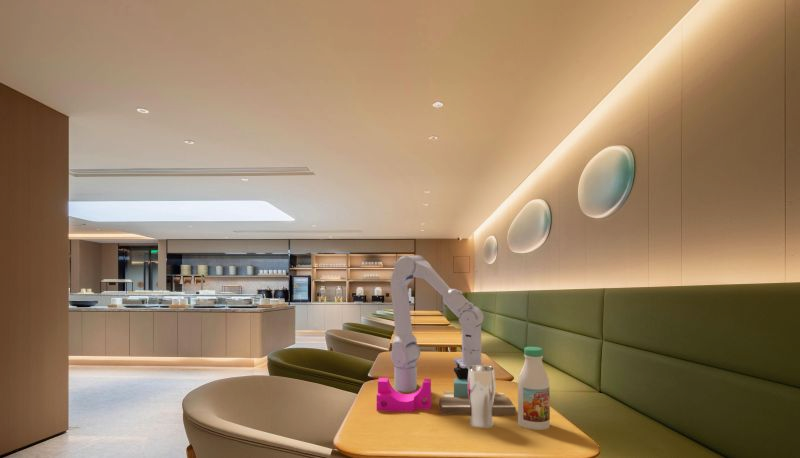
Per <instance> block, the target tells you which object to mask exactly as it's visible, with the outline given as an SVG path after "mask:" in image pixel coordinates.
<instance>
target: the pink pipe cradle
mask: <svg viewBox="0 0 800 458" xmlns="http://www.w3.org/2000/svg"><path fill="white" fill-rule="evenodd" d="M424 399H425V400H424ZM415 409H416V410H420V409H421V410H432V379H431V378H423V382H422V384H421V386H420V388H419V389H418V390H415V391H413V392H412V393H408V394H404V393H402V392H401V393H400V391H397V390H395V389H394V387H393V386H392V385H391V381H390V379H389V377H378V379H377V393H376V411H377V410H382V411H381V412H409V413H411V412H414V411H415Z"/></svg>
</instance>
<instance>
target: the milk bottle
mask: <svg viewBox="0 0 800 458" xmlns="http://www.w3.org/2000/svg"><path fill="white" fill-rule="evenodd" d="M523 353H524V354H523V357H524V362H523V363H524V364H523V365H522V368H521V370H520V373H519V374H518V381H517V425H518V426H520V427H522V428H523V429H529V430H536V431H538V430H539V431H542V430H543V431H544V430H547V429H549V428H550V426H551V425H550V424H551V422H550V421H551V420H550V419H551V418H550V417H551V415H550V412H551V408H550V406H551V404H550V402H551V401H550V398H551V397H550V381H549V380H550V379H549V377H548V374H547V371H546V369H545V367H544V363H543V358H544V349H543V348H542V347H540V346H539V347H538V346H526V347H524V349H523Z"/></svg>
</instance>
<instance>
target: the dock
mask: <svg viewBox="0 0 800 458" xmlns="http://www.w3.org/2000/svg"><path fill="white" fill-rule="evenodd" d="M438 401H439V402H438V404H439V409H440V413H441V415H469V416H471V407H470V401H469V397H444V396H439V397H438ZM493 415H495V416H496V415H497V416H499V415H501V416H508V415H510V416H511V415H512V416H516V406H515V404H514V403H513V402H512V400H511V398H509V397H507V396H505V397H494V403H493V409H492V416H493Z"/></svg>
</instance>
